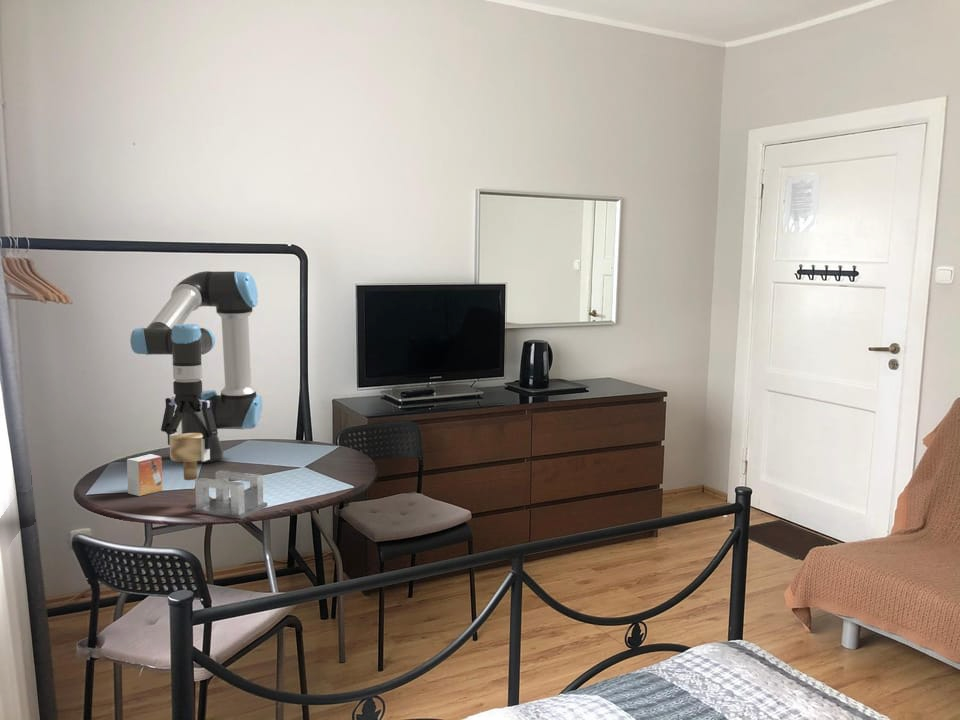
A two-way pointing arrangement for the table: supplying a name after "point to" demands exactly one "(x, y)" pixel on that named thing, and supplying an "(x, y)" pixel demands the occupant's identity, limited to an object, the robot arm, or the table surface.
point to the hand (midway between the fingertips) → (190, 458)
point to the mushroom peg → (187, 452)
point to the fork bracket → (240, 499)
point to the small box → (144, 474)
